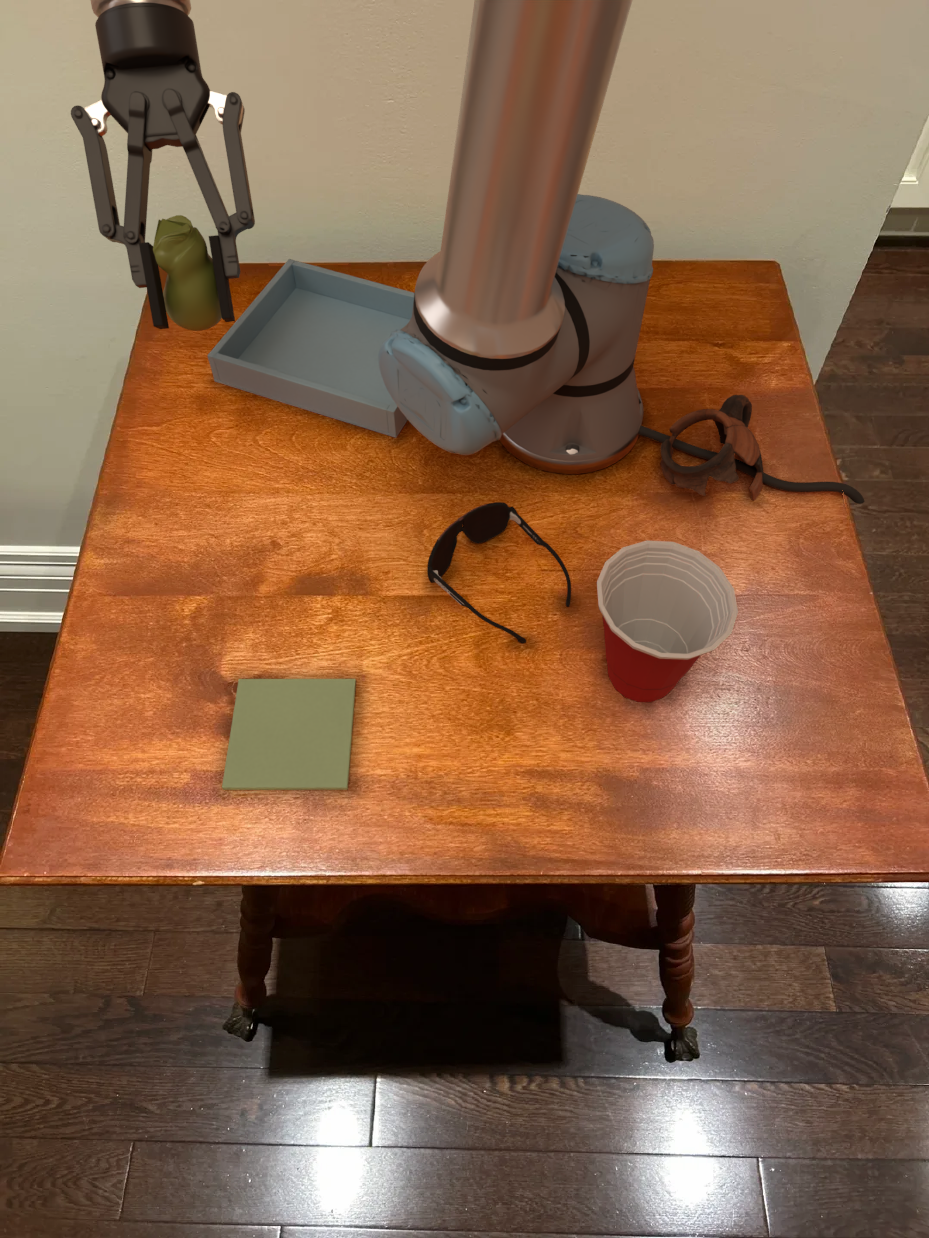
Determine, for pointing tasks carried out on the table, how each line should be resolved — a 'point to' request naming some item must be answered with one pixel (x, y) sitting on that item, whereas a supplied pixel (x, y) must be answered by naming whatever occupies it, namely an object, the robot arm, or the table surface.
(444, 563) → the sunglasses
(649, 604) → the plastic cup
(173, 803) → the table surface
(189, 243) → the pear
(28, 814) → the table surface
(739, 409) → the brown piece
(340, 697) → the coaster
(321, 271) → the tray
